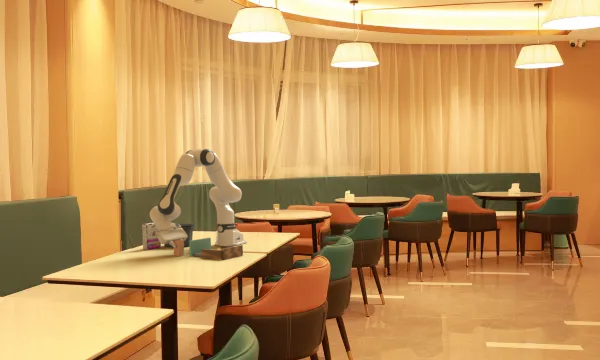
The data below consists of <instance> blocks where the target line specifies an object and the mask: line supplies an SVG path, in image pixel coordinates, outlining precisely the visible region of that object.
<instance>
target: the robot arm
mask: <svg viewBox="0 0 600 360" xmlns="http://www.w3.org/2000/svg"><path fill="white" fill-rule="evenodd" d="M196 167H197V168H198V167H204V168H205V171H206V174H207V175H208V178H209V180H210V181H209V182H210V183H211V184H213V185H214V186H212V187H211V188H210V189H209V192H208V197H209V198H210V200H211V201H212V203H213V204H214V206H215V209H216V210H215V211H216V215H217V223H216V229H217V231H216V238H215V240H216V241H215V243H214V244H215V246H220V247H221V245H224V246H239V245H240V244H241V245H244V244H247V243H248V241H247V240H245V239H244V235H243V233H242V232H241V231H240V230H239V229H237V227H239V225H240V224H239V223H237V222H236V223H235V211H234V210H233V208H232V207H231V206H230V204H233V203H237V202H240V201H241V199H242V195H243V192H242V189H241V188H240V187H238V186H237V185H235V183H234V182H233V181H232V180H231V179H230V177H229V176H228V175H227V172H226V171H225V168H224V165H223V164H222V161H221V159H220V158H219V156H218V155H217V153H215V152H214V151H212V149H208V148H197V149H190V150H187V151H186V152H185V153H184V154H182V155H180V158H179V159H178V161H177V164H176V166H175V169H174V172H173V175H172V176H171V178H170V180H169V182H168V184H167V187H166V189H165V191H164V193H163V195H162V197H161V198H160V199H159V201H158V203H157V206H156V205H155V206H153V207H152V209H150V211H149V217H150V219H151V221H152V223H154V224H155V225H156V226H157V228H158V230H159V231H156V235H157V238H158V240H159V241H160V243H161V245H164V244H168V243H169V244H170V245H171V246H173V249H174V248H176V247H177V245H176V244H174V243H173V241H175V240H184V241H185V240H186V239H187V237H188V236H187V234H186V232H185V231H184V230H183V229H182V228H180V227H181V226H180V225H179V224H180V223H175V222H172V221H174V220H176V219H178V218H179V217H180V216H181V214H182V209H181V206H180V205H178V204H177V203H176V202H175V197H176V195H177V193H178V191H179V188H180V186H185V185H188V184H189V183H190V182H191V180H192V177H193V174H194V171H195V168H196Z"/></svg>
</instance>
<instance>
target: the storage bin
mask: <svg viewBox="0 0 600 360" xmlns="http://www.w3.org/2000/svg"><path fill="white" fill-rule="evenodd" d="M178 224H179V225H180V226H181V227H180V228H182V229H183V230H184V231H185V232H186V234H187V236H188V237H187V239H186V240H185V241H184V247H189V241H192V240H193V238H194V236H193V235H194V234H193V232H194V228H195V226H196V225H195V223H188V222H187V223H178ZM163 246H164V247H166V248H170V247H171V248H172V247H173V246H171V245H170V244H169V243H168V244H163ZM173 248H174V247H173Z"/></svg>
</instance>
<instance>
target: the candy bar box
mask: <svg viewBox="0 0 600 360" xmlns="http://www.w3.org/2000/svg"><path fill="white" fill-rule="evenodd" d="M141 229H142V230H141V231H142V232H141V233H142V249H143V250H146V251H150V250H155V249H161V248H162V244H161V243H160V241H159V240H158V238H157V235H156V231H159V230H158V228H157V226H156V225H155V224H154V223H153V222H149V223H142V224H141Z"/></svg>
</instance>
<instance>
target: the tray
mask: <svg viewBox="0 0 600 360" xmlns="http://www.w3.org/2000/svg"><path fill="white" fill-rule="evenodd" d="M211 239H212V237H206V238H205V237H203V238H199V239H198V238H197V239H192V241H189V246H188V247H189V257H198V258H199V257H200V258H202V257H201V249H210V250H212V240H211Z"/></svg>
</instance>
